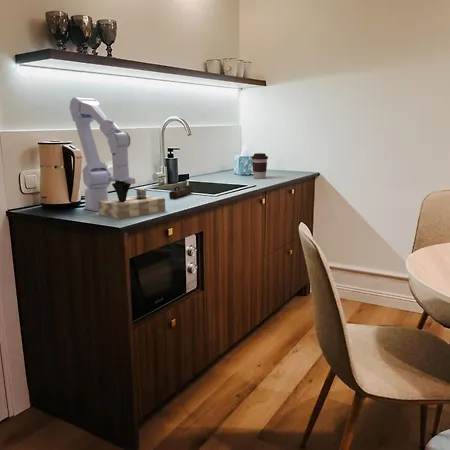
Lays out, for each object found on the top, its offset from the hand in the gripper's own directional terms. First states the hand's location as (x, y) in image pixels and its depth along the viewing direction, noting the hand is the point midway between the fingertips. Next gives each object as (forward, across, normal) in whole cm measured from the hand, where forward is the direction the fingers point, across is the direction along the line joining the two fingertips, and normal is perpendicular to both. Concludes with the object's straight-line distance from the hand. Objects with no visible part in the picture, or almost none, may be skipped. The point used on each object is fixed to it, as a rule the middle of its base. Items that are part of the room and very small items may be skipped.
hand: (122, 201), depth 177 cm
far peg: (+1, 0, +9) cm, 9 cm away
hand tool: (+5, -16, +45) cm, 48 cm away
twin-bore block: (+5, 0, +4) cm, 7 cm away
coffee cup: (+5, -31, +123) cm, 127 cm away
